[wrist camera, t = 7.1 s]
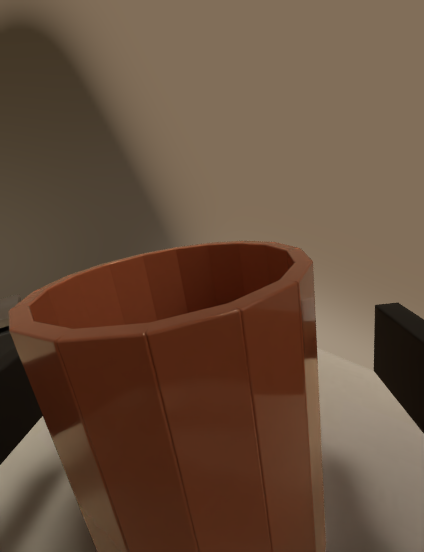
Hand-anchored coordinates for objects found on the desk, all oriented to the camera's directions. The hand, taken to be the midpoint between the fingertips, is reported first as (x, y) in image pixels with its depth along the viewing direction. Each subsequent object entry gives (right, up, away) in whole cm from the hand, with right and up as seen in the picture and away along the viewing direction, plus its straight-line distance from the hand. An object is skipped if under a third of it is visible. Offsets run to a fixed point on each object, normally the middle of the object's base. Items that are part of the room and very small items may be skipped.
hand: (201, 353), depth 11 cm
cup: (+1, -6, -1) cm, 6 cm away
